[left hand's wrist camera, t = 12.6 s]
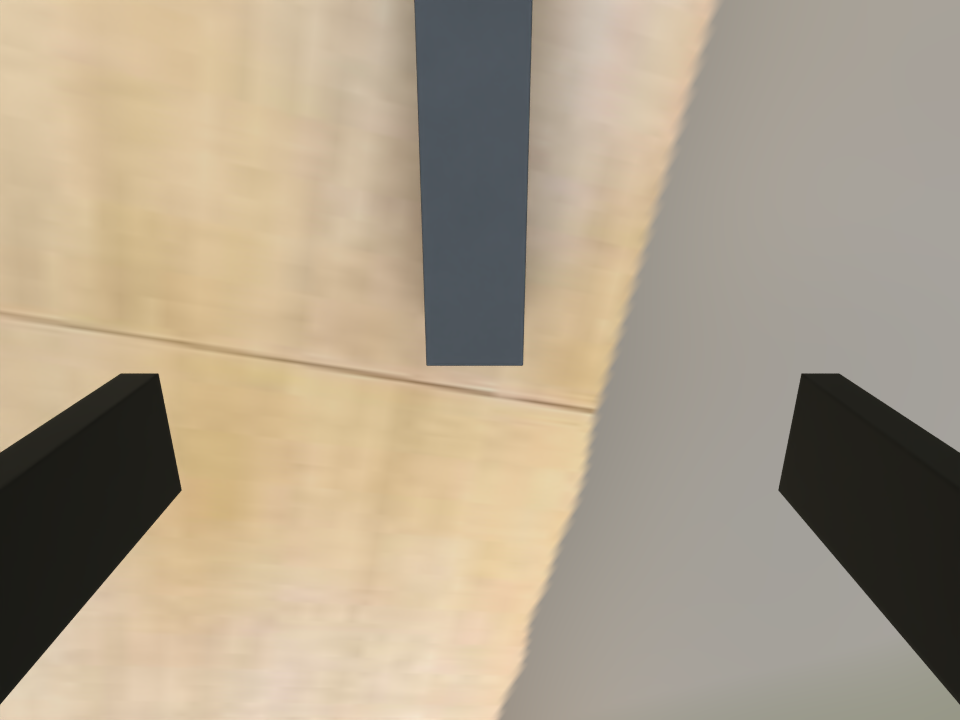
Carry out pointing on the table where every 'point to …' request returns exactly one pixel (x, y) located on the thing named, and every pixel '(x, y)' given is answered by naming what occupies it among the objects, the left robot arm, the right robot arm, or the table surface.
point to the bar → (474, 176)
